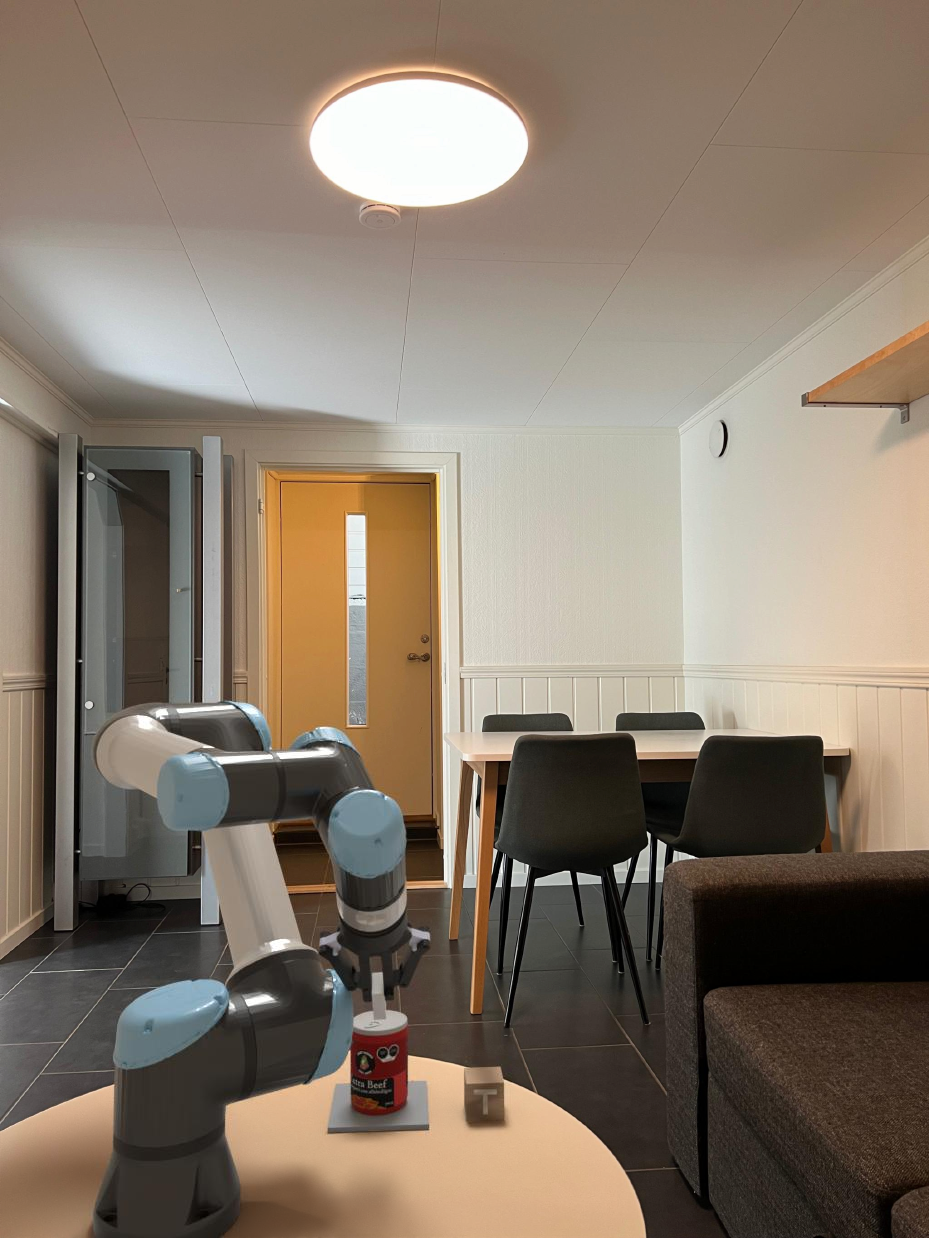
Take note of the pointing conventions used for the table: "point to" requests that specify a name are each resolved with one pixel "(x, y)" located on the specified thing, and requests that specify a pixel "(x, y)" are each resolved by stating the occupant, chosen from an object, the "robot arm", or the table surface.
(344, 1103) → the mat
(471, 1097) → the letter cube
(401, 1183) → the table surface
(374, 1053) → the canned food
